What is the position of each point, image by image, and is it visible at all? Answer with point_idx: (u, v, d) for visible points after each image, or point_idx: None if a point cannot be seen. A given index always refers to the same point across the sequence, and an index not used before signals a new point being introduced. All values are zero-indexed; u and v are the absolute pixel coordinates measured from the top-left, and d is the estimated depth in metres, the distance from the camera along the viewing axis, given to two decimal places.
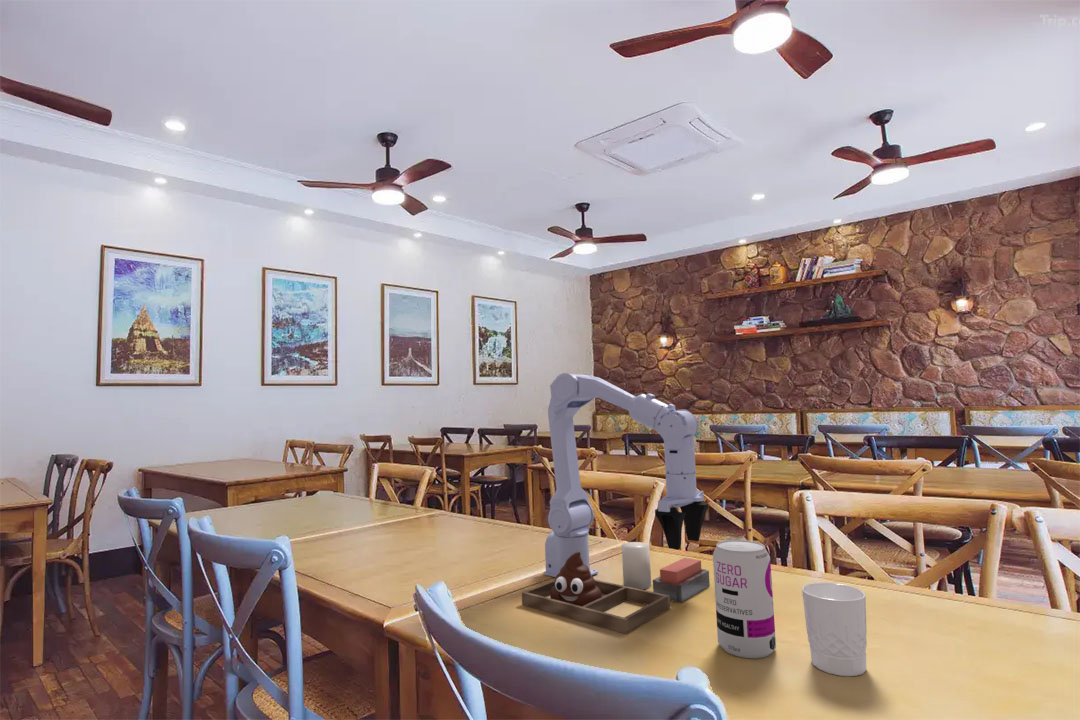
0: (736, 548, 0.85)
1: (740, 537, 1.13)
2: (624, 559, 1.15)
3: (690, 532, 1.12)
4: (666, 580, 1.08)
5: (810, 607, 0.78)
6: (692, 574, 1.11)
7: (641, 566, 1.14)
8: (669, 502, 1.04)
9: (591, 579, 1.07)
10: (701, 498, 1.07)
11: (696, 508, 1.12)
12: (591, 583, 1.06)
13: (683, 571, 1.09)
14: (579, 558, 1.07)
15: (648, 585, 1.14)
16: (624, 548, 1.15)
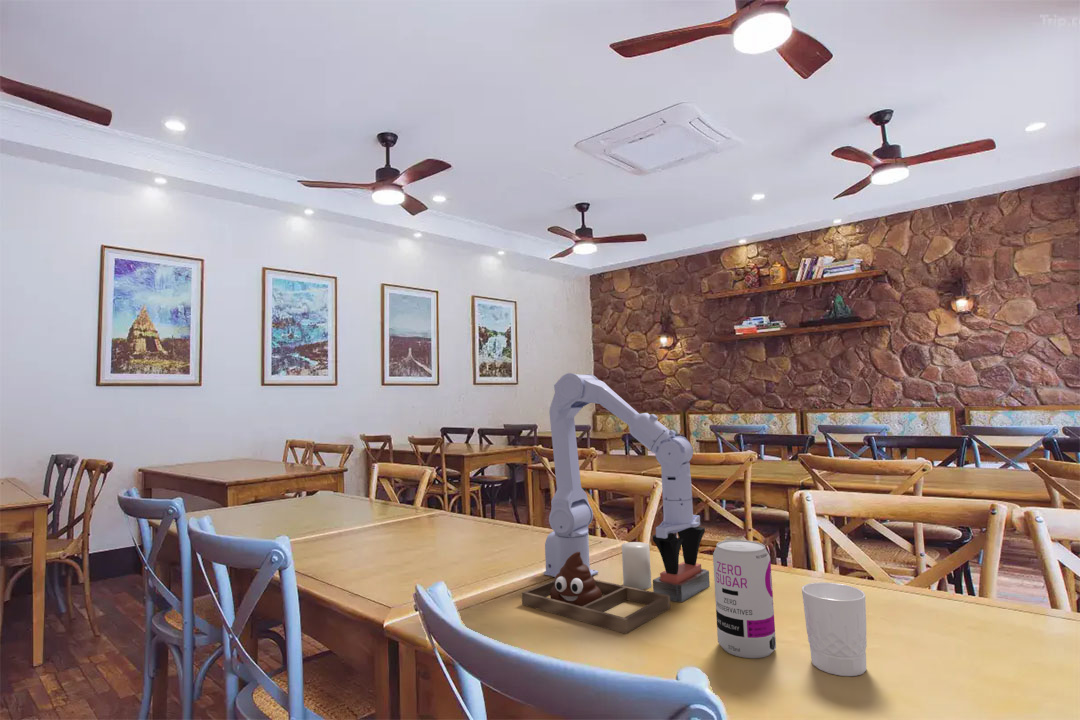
0: (736, 548, 0.85)
1: (740, 537, 1.13)
2: (624, 559, 1.15)
3: (687, 556, 1.15)
4: None
5: (810, 607, 0.78)
6: None
7: (641, 566, 1.14)
8: (666, 528, 1.07)
9: (591, 579, 1.07)
10: (697, 524, 1.10)
11: (693, 533, 1.14)
12: (591, 583, 1.06)
13: (684, 574, 1.09)
14: (579, 558, 1.07)
15: (648, 585, 1.14)
16: (624, 548, 1.15)
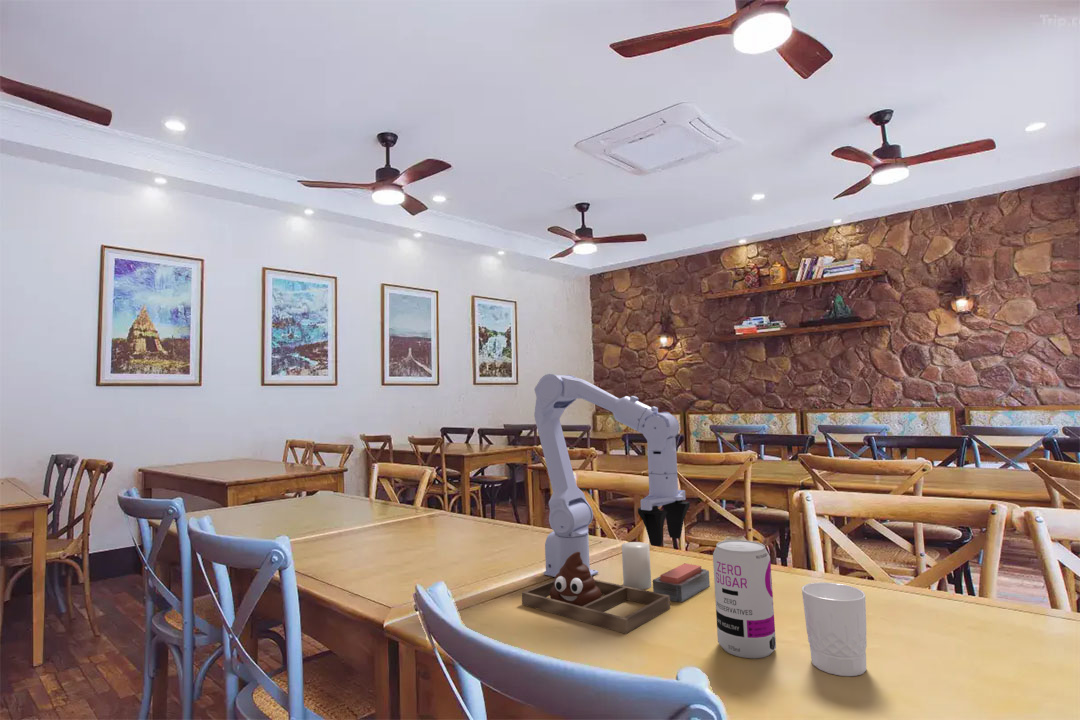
0: (736, 548, 0.85)
1: (740, 537, 1.13)
2: (624, 559, 1.15)
3: (672, 530, 1.17)
4: None
5: (810, 607, 0.78)
6: None
7: (641, 566, 1.14)
8: (651, 501, 1.09)
9: (591, 579, 1.07)
10: (682, 497, 1.12)
11: (678, 507, 1.16)
12: (591, 583, 1.06)
13: (684, 577, 1.09)
14: (579, 558, 1.08)
15: (648, 585, 1.14)
16: (624, 548, 1.15)
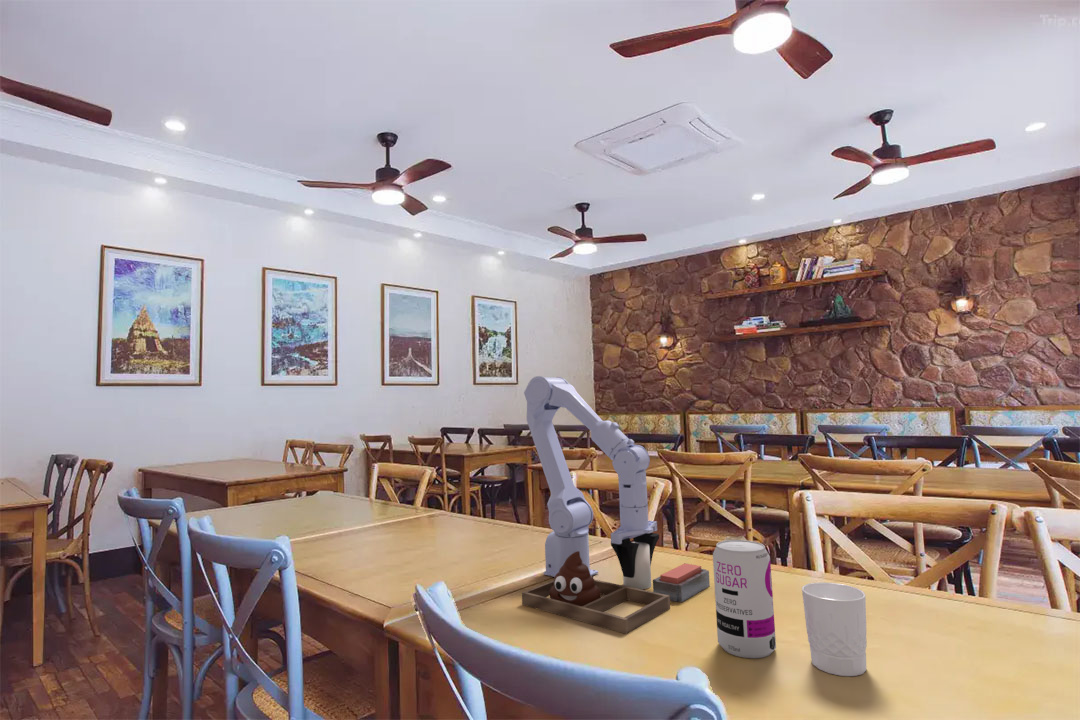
0: (736, 548, 0.85)
1: (740, 537, 1.13)
2: None
3: None
4: None
5: (810, 607, 0.78)
6: None
7: (641, 566, 1.14)
8: (621, 535, 1.11)
9: (590, 578, 1.07)
10: (652, 530, 1.14)
11: (647, 539, 1.18)
12: (590, 583, 1.06)
13: (684, 577, 1.09)
14: (578, 557, 1.08)
15: (648, 585, 1.14)
16: None
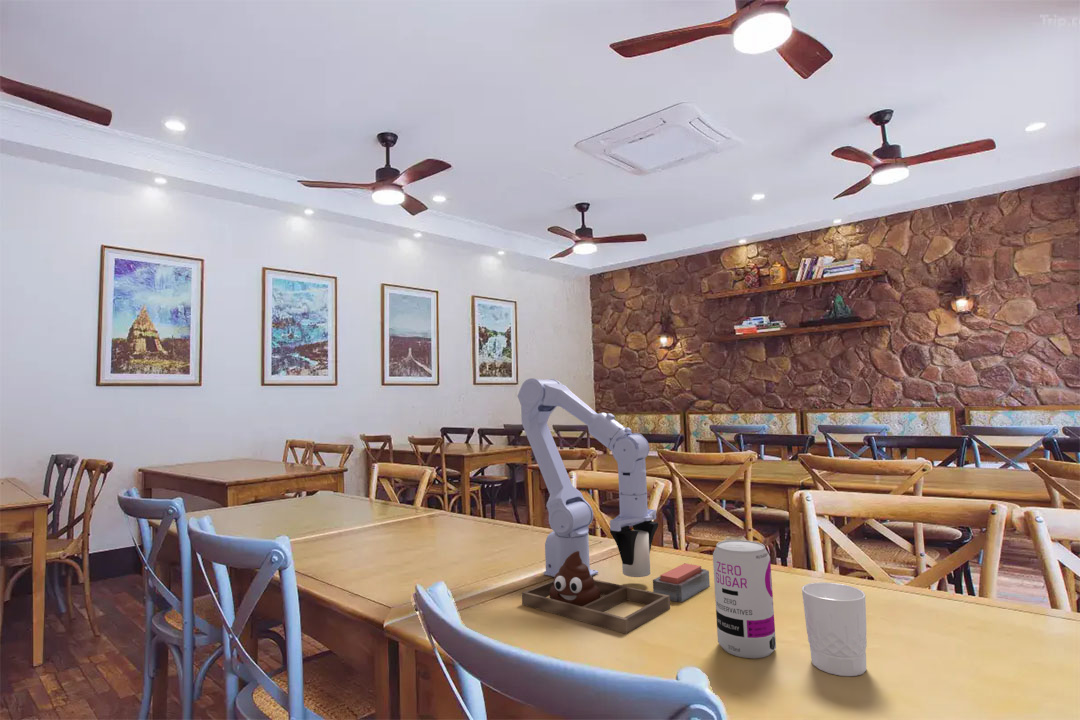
0: (736, 548, 0.85)
1: (740, 537, 1.13)
2: None
3: None
4: None
5: (810, 607, 0.78)
6: None
7: (640, 553, 1.14)
8: (620, 522, 1.11)
9: (590, 578, 1.07)
10: (651, 517, 1.15)
11: (646, 527, 1.18)
12: (590, 583, 1.06)
13: (684, 577, 1.09)
14: (578, 557, 1.08)
15: (647, 572, 1.14)
16: None
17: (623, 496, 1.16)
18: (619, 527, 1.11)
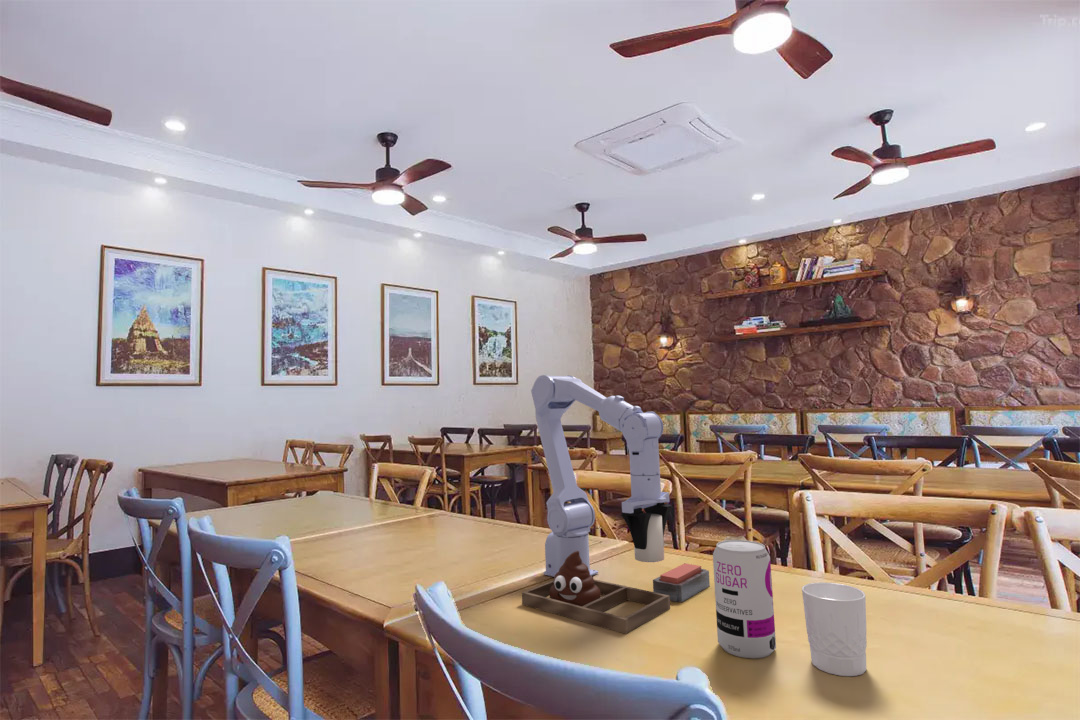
0: (736, 548, 0.85)
1: (740, 537, 1.13)
2: None
3: None
4: None
5: (810, 607, 0.78)
6: None
7: (653, 537, 1.08)
8: (632, 503, 1.05)
9: (590, 578, 1.07)
10: (665, 499, 1.08)
11: (659, 510, 1.12)
12: (590, 582, 1.06)
13: (684, 577, 1.09)
14: (578, 557, 1.08)
15: (661, 557, 1.08)
16: None
17: (635, 477, 1.09)
18: (631, 509, 1.05)
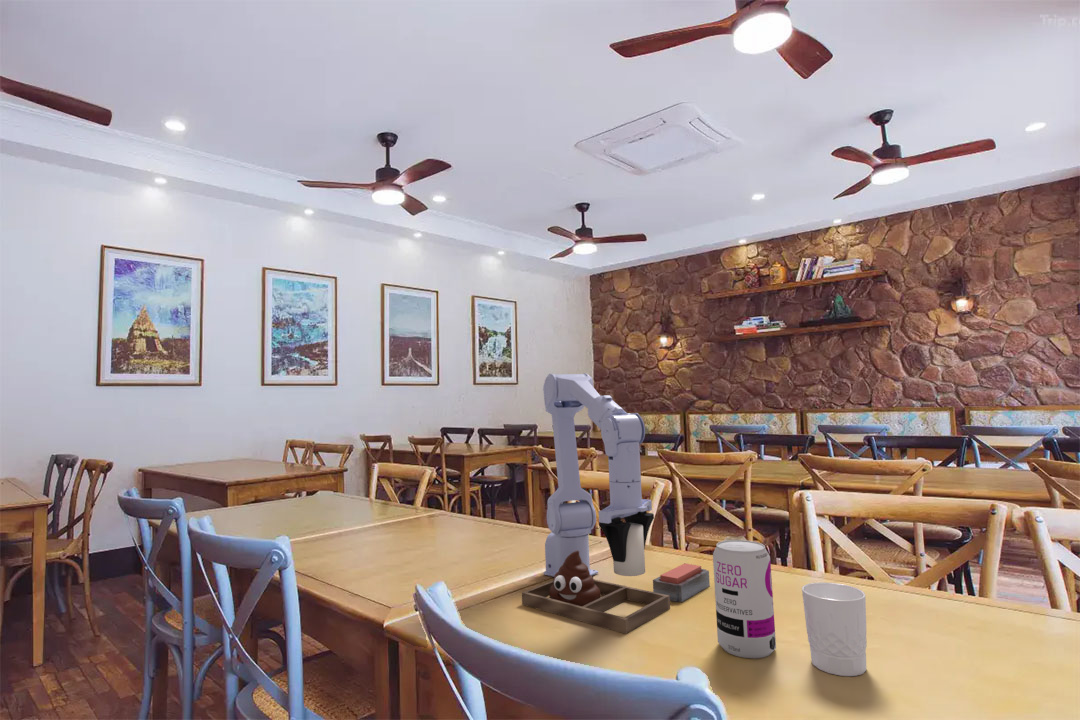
0: (736, 548, 0.85)
1: (740, 537, 1.13)
2: None
3: None
4: None
5: (810, 607, 0.78)
6: None
7: (633, 549, 0.99)
8: (610, 513, 0.97)
9: (590, 578, 1.07)
10: (646, 508, 1.00)
11: (640, 519, 1.04)
12: (590, 582, 1.06)
13: (684, 577, 1.09)
14: (578, 557, 1.08)
15: (641, 571, 1.00)
16: None
17: (614, 484, 1.01)
18: (609, 519, 0.97)
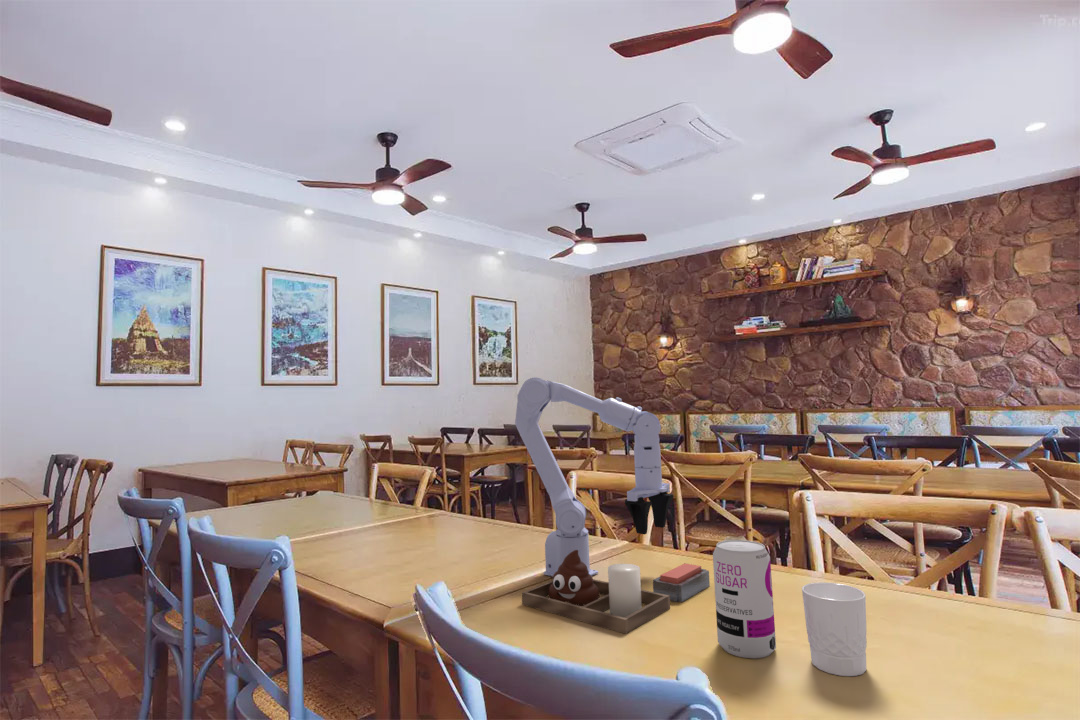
0: (736, 548, 0.85)
1: (740, 537, 1.13)
2: (610, 584, 0.99)
3: (657, 520, 1.26)
4: None
5: (810, 607, 0.78)
6: None
7: (629, 592, 0.98)
8: (636, 492, 1.18)
9: (589, 577, 1.08)
10: (665, 489, 1.22)
11: (662, 498, 1.26)
12: (589, 581, 1.07)
13: (684, 577, 1.09)
14: (577, 556, 1.09)
15: None
16: (610, 571, 0.99)
17: (639, 469, 1.23)
18: (636, 497, 1.18)
